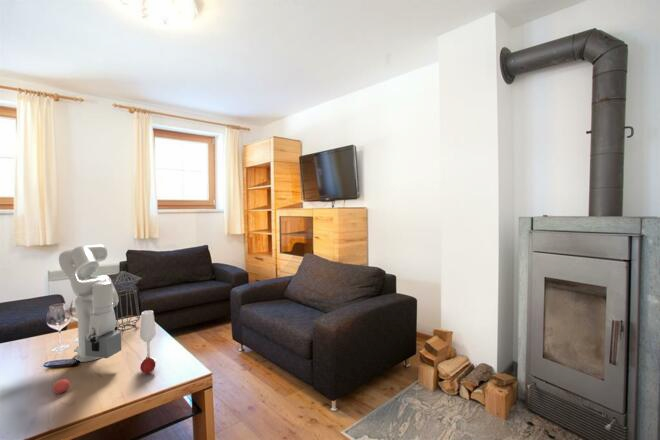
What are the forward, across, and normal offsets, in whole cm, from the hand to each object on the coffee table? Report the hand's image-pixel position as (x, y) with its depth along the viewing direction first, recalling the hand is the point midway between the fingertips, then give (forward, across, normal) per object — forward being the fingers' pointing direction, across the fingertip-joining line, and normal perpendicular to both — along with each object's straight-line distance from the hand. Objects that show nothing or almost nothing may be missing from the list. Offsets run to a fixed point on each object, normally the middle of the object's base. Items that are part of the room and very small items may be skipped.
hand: (103, 346), depth 144 cm
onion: (+10, +1, +24) cm, 26 cm away
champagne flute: (+10, -9, +16) cm, 21 cm away
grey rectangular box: (+3, 0, 0) cm, 3 cm away
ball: (+8, +19, -1) cm, 20 cm away
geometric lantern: (+13, -45, -31) cm, 56 cm away
